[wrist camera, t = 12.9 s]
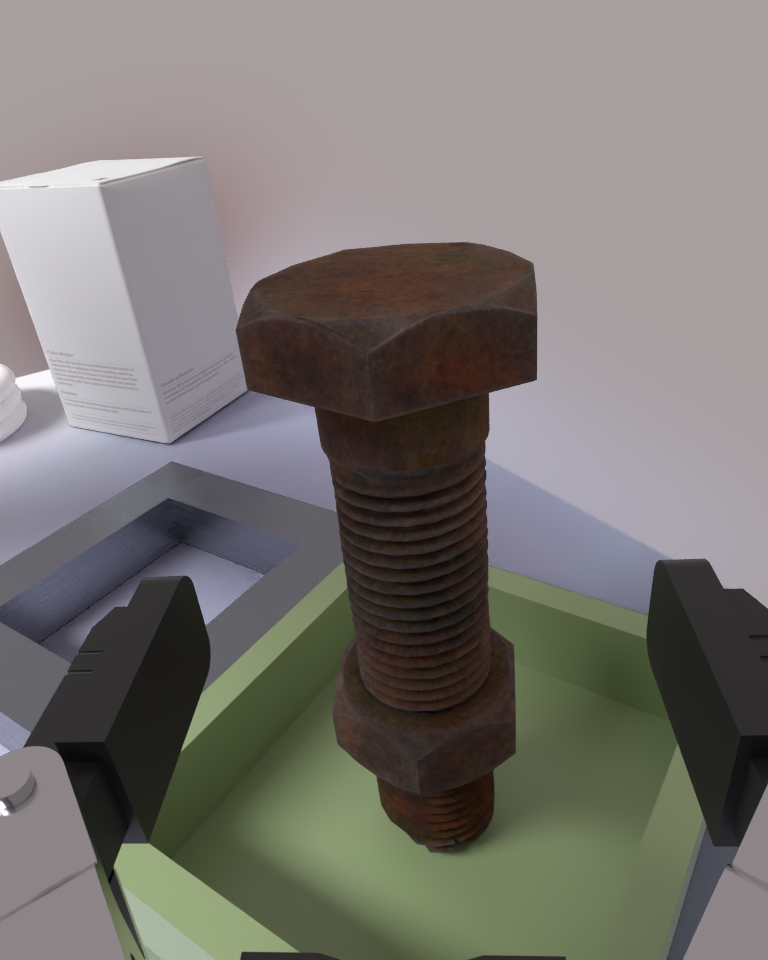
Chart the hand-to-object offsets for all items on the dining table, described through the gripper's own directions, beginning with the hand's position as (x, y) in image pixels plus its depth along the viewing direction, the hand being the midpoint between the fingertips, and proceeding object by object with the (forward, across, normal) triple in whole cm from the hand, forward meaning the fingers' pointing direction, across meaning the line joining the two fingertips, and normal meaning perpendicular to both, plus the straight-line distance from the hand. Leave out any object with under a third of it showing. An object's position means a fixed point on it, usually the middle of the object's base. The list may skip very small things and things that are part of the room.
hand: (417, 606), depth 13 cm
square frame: (+12, +11, +11) cm, 20 cm away
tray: (+3, 0, +11) cm, 12 cm away
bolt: (+3, 0, +10) cm, 11 cm away
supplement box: (+34, +18, +11) cm, 40 cm away
